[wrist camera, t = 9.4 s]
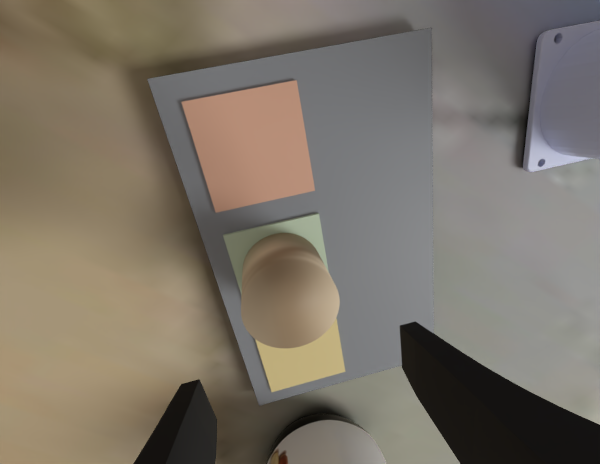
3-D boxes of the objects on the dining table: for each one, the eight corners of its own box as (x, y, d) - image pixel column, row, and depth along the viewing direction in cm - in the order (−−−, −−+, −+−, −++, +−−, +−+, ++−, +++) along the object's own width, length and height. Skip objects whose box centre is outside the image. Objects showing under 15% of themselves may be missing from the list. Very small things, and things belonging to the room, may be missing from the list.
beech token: (320, 229, 17) (340, 258, 13) (321, 297, 19) (339, 340, 15) (238, 236, 16) (235, 270, 13) (246, 307, 18) (246, 355, 14)
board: (418, 34, 16) (434, 26, 14) (425, 345, 24) (435, 358, 23) (155, 82, 14) (146, 78, 13) (258, 391, 23) (259, 408, 21)
